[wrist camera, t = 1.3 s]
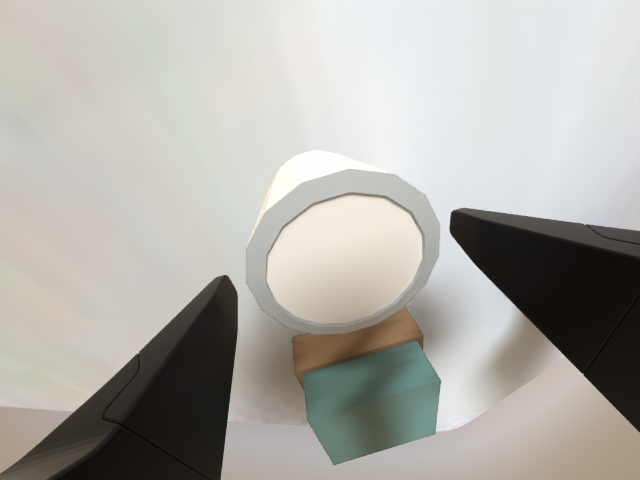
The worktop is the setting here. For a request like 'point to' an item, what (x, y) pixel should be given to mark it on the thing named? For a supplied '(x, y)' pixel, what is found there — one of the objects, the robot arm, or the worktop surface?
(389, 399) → the teal and brown block
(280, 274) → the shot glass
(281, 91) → the worktop surface
